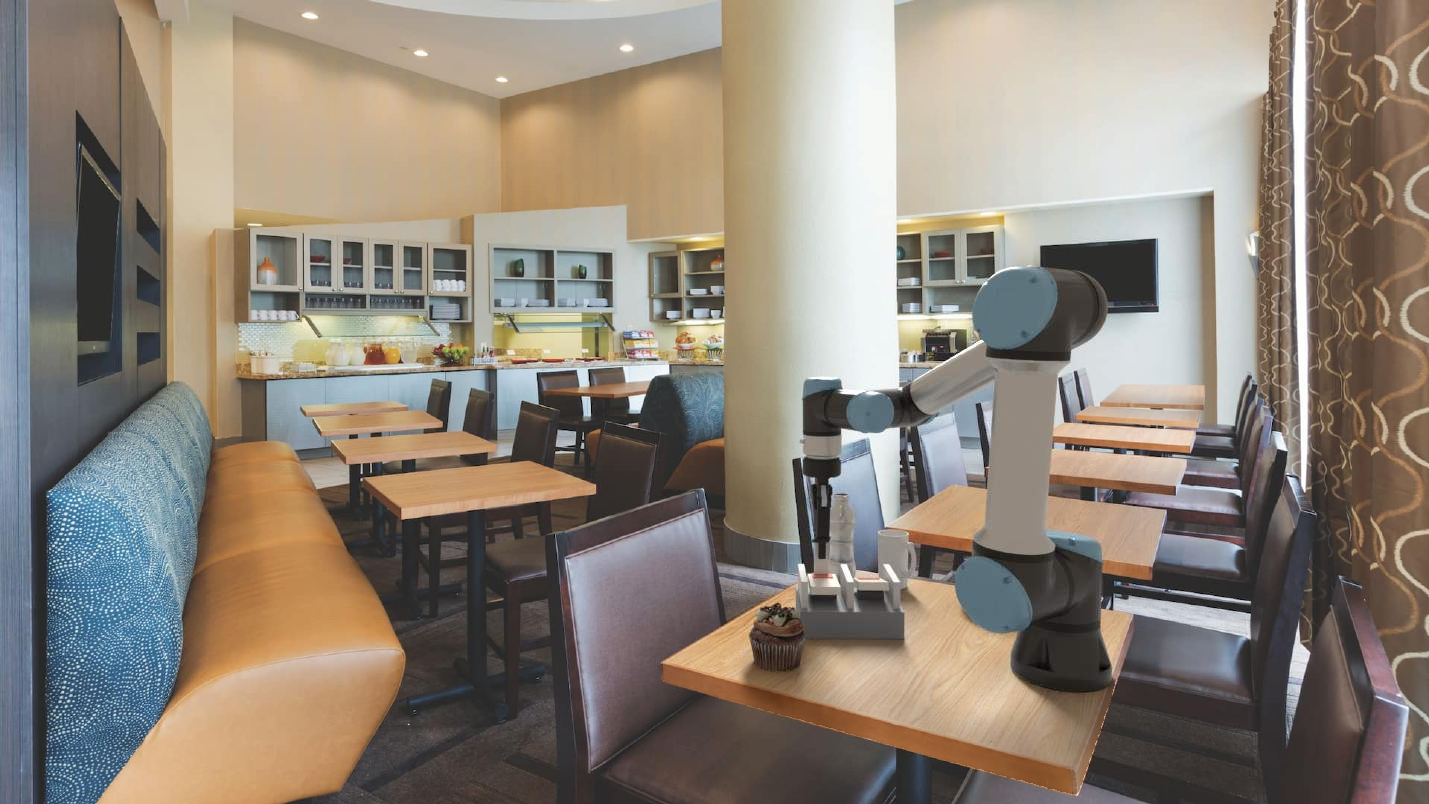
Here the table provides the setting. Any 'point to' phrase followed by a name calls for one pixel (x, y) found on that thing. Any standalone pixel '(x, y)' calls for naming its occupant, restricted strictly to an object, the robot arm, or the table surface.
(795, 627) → the cupcake
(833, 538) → the plastic bottle
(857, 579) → the breaker
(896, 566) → the mug
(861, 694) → the table surface
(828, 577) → the block
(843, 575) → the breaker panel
